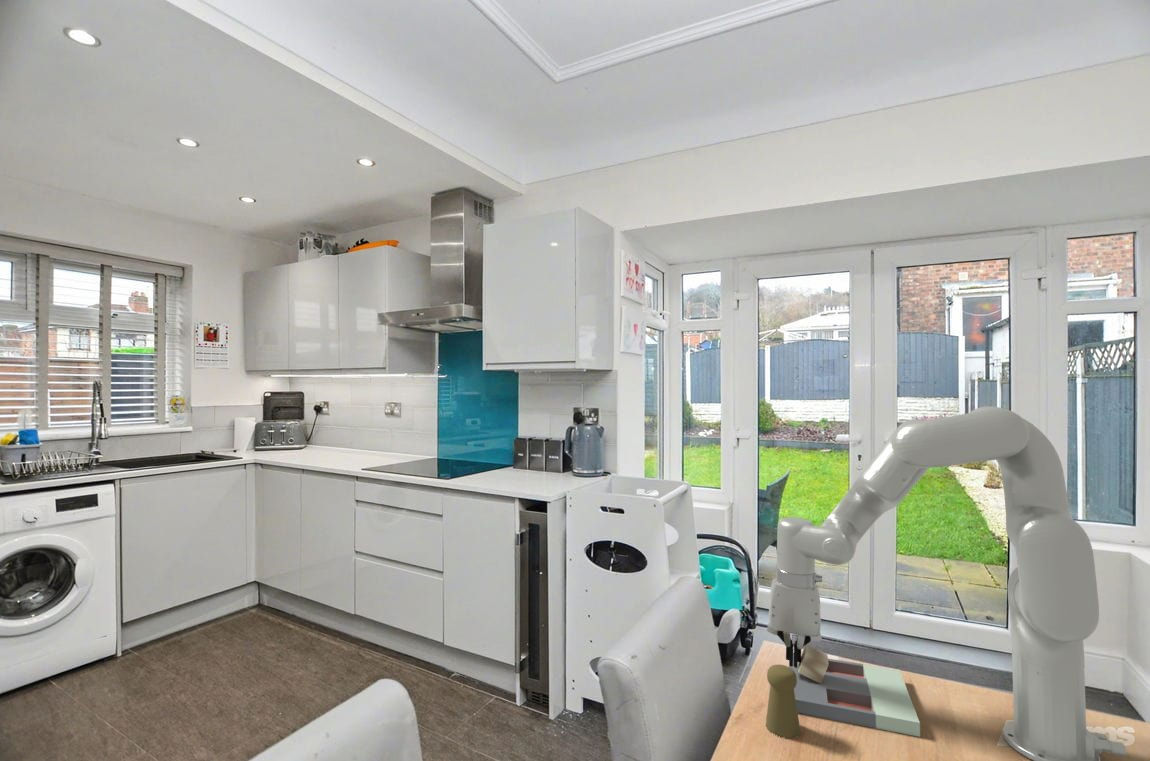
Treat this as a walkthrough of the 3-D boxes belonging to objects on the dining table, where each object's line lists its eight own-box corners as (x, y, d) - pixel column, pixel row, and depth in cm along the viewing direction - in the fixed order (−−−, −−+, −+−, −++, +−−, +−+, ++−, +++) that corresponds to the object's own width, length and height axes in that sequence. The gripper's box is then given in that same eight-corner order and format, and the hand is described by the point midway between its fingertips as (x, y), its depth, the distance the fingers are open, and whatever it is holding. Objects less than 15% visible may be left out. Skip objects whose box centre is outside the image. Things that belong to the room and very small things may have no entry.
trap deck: (899, 681, 116) (899, 669, 116) (920, 736, 97) (919, 722, 97) (789, 663, 124) (789, 652, 124) (788, 711, 106) (788, 698, 106)
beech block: (819, 673, 115) (827, 654, 114) (820, 684, 111) (828, 664, 110) (798, 662, 116) (805, 643, 116) (798, 672, 112) (806, 653, 112)
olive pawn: (803, 740, 97) (802, 678, 97) (768, 736, 98) (766, 674, 98) (796, 720, 103) (795, 661, 103) (763, 716, 104) (762, 658, 104)
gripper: (832, 577, 115) (830, 663, 115) (759, 566, 121) (757, 649, 121) (835, 589, 108) (833, 681, 108) (757, 577, 114) (755, 665, 114)
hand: (793, 663), depth 115 cm, fingers closed
